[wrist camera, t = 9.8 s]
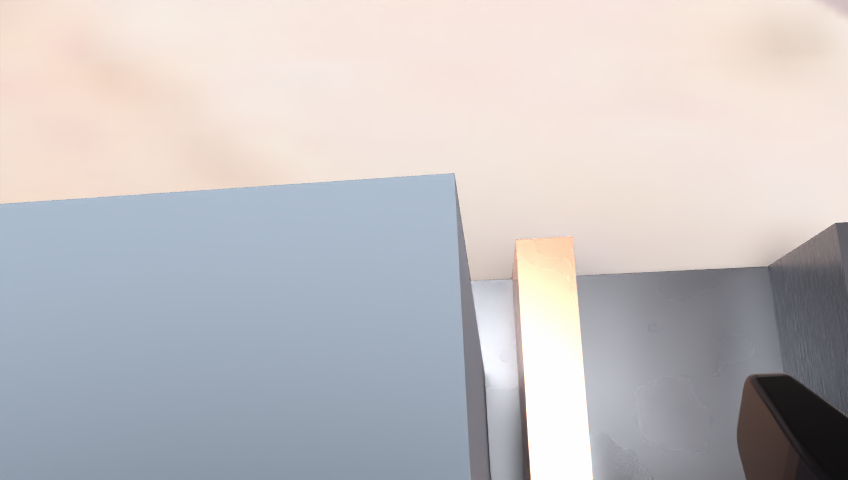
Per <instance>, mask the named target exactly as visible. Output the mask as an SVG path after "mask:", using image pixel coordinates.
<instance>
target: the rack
mask: <svg viewBox="0 0 848 480" xmlns="http://www.w3.org/2000/svg"><path fill="white" fill-rule="evenodd" d="M471 286H472V293H473V299H474V306H475V312H476V319H477V325H478V332H479V338H480V345H481V352H482V358H483V365H484V371H485V387H486V404H487V421H488V438H489V454H490V471H491V480H746V478H745V474H744V470H743V466H742V463H741V459H740V455H739V451H738V446H737V423H738V417H739V410H740V404H741V398H742V391H743V385H744V382H745V380H746V378H747V377H748V376H749V375H751V374H754V373H776V372H781V373H787V374H789V375H791V376H792V377H794V378H795V379H797V380H798V381H799V382H801V383H802V384H804V385H805V386H806V387H808V388H809V389H811V390H812V391H813V392H815V393H816V394H817V395H819V396H820V397H822V398H823V399H824V400H826V401H827V402H829V403H830V404H831V405H833V406H834V407H835V408H837V409H838V410H840V411H841V412H842V413H844V414H845V415H847V416H848V222H844V223H835V224H833V225H832V226H830V227H828V228H827V229H825V230H824V231H822V232H821V233H819V234H818V235H816V236H815V237H813V238H811V239H810V240H808V241H807V242H805V243H804V244H802V245H801V246H799V247H798V248H796V249H794V250H793V251H791V252H790V253H788V254H787V255H785V256H784V257H782V258H781V259H779V260H777V261H776V262H774V263H773V264H771V265H770V266H768V267H747V268H727V269H706V270H686V271H665V272H644V273H624V274H603V275H583V276H576V272H575V260H574V248H573V237H558V238H539V239H520V240H516V244H515V254H514V264H513V273H512V279H500V280H480V281H471Z"/></svg>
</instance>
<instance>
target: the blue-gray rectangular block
mask: <svg viewBox="0 0 848 480" xmlns="http://www.w3.org/2000/svg"><path fill="white" fill-rule="evenodd" d="M0 480H491V471H490V454H489V438H488V421H487V404H486V387H485V371H484V365H483V358H482V352H481V345H480V338H479V332H478V325H477V319H476V312H475V306H474V299H473V293H472V286H471V280H470V273H469V266H468V260H467V253H466V247H465V240H464V234H463V227H462V221H461V214H460V207H459V201H458V194H457V188H456V181H455V175H454V173H451V174H436V175H422V176H407V177H392V178H377V179H362V180H348V181H333V182H318V183H303V184H289V185H274V186H259V187H244V188H230V189H215V190H200V191H185V192H170V193H156V194H141V195H126V196H111V197H97V198H82V199H67V200H52V201H37V202H23V203H8V204H0Z"/></svg>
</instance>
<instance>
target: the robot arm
mask: <svg viewBox="0 0 848 480" xmlns="http://www.w3.org/2000/svg"><path fill="white" fill-rule="evenodd" d="M737 446H738V451H739V455H740V459H741V463H742V466H743V470H744V474H745V478H746V480H848V416H847V415H845V414H844V413H842V412H841V411H840V410H838V409H837V408H835V407H834V406H833V405H831V404H830V403H829V402H827V401H826V400H824V399H823V398H822V397H820V396H819V395H817V394H816V393H815V392H813V391H812V390H811V389H809V388H808V387H806V386H805V385H804V384H802V383H801V382H799V381H798V380H797V379H795V378H794V377H792V376H791V375H789V374H787V373H781V372H776V373H754V374H751V375H749V376H748V377H747V378H746V380H745V382H744V385H743V391H742V398H741V404H740V410H739V417H738V423H737Z"/></svg>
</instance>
